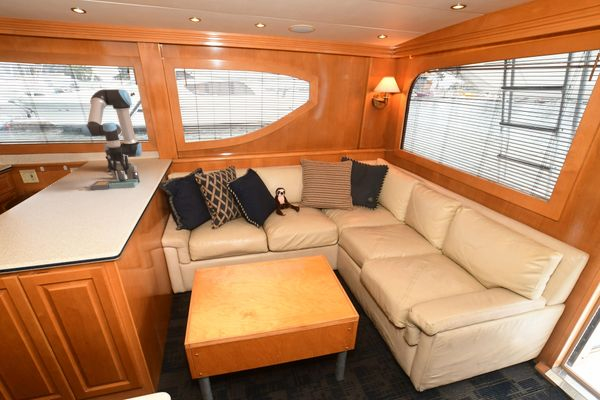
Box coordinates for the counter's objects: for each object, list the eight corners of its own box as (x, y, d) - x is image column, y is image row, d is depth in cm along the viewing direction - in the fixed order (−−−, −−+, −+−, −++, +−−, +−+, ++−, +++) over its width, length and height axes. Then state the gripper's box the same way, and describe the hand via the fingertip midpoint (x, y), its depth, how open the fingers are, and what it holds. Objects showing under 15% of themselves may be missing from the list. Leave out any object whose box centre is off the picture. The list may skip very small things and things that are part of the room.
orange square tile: (98, 183, 194) (98, 181, 194) (109, 182, 196) (109, 181, 195) (94, 186, 188) (94, 184, 188) (105, 185, 190) (105, 184, 189)
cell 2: (134, 181, 206) (132, 170, 202) (140, 181, 207) (138, 170, 203) (133, 183, 202) (130, 172, 199) (139, 182, 203) (136, 171, 200)
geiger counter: (136, 161, 208) (106, 159, 210) (131, 163, 202) (99, 161, 204) (140, 178, 213) (110, 177, 215) (135, 180, 207) (104, 179, 209)
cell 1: (120, 180, 195) (117, 168, 192) (126, 179, 196) (124, 168, 193) (118, 181, 192) (115, 170, 188) (124, 181, 192) (122, 169, 189)
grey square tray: (98, 185, 196) (96, 181, 195) (113, 184, 198) (112, 180, 197) (91, 190, 187) (90, 185, 186) (108, 189, 189) (106, 184, 188)
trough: (113, 185, 198) (112, 180, 196) (138, 183, 201) (137, 179, 200) (109, 188, 190) (108, 184, 189) (134, 187, 194) (133, 182, 193)
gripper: (97, 148, 180) (106, 181, 188) (126, 147, 183) (134, 180, 192) (102, 145, 186) (111, 178, 195) (130, 145, 190) (137, 177, 199)
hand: (122, 179), depth 194 cm, fingers closed on cell 1, 4 cm apart
